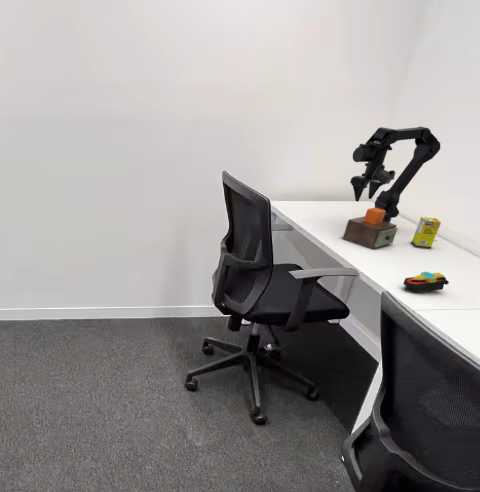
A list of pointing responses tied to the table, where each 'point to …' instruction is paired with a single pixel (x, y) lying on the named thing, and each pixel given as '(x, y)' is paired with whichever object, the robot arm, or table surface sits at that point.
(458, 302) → the table surface
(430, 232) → the supplement box
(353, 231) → the cabinet
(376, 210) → the orange cube
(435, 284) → the gadget
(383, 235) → the drawer
